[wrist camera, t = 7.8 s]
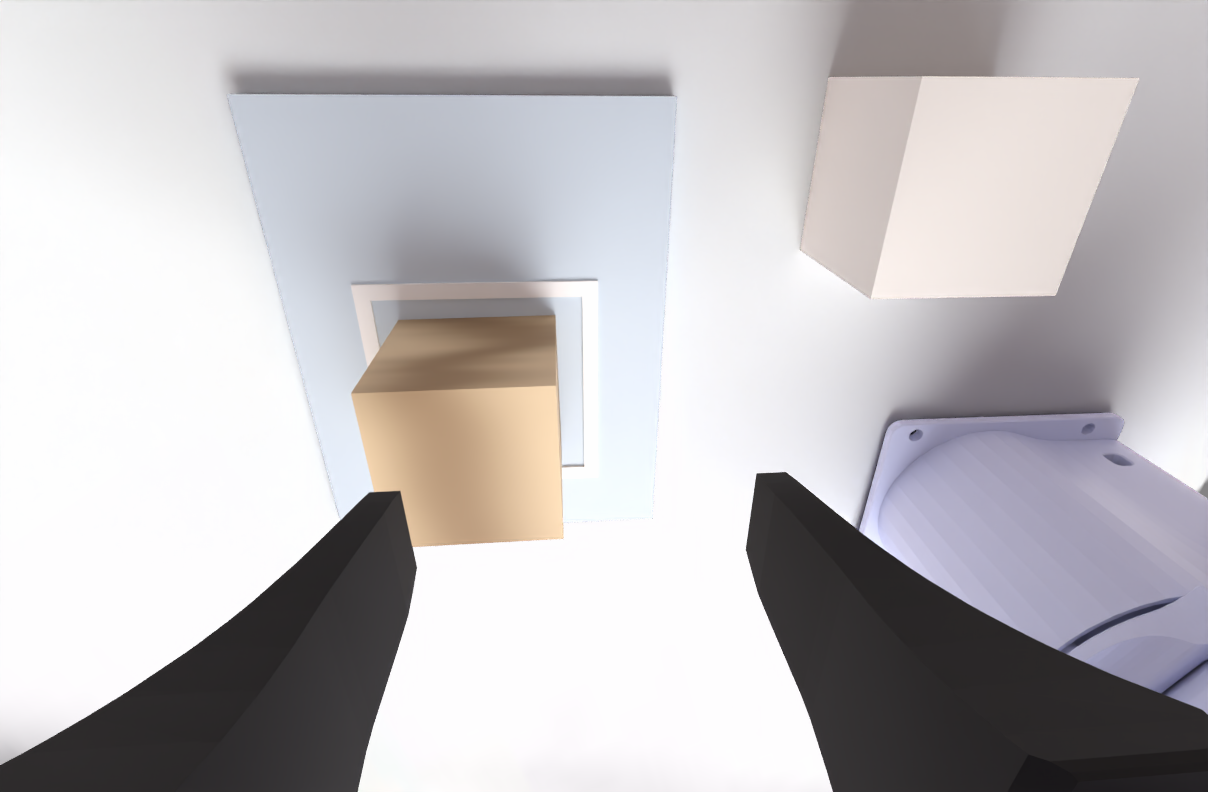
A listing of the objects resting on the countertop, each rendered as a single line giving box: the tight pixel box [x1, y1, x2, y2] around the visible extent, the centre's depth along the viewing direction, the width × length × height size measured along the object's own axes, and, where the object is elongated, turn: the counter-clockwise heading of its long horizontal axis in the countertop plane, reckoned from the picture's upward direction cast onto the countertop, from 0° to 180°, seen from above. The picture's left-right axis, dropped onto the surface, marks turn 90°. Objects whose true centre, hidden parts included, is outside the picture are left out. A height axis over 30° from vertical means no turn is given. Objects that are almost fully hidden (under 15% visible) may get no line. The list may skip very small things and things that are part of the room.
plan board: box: [227, 94, 677, 523], centre depth 20 cm, size 12×15×1 cm
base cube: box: [351, 315, 563, 547], centre depth 18 cm, size 5×5×5 cm
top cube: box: [800, 76, 1140, 299], centre depth 16 cm, size 5×5×5 cm
